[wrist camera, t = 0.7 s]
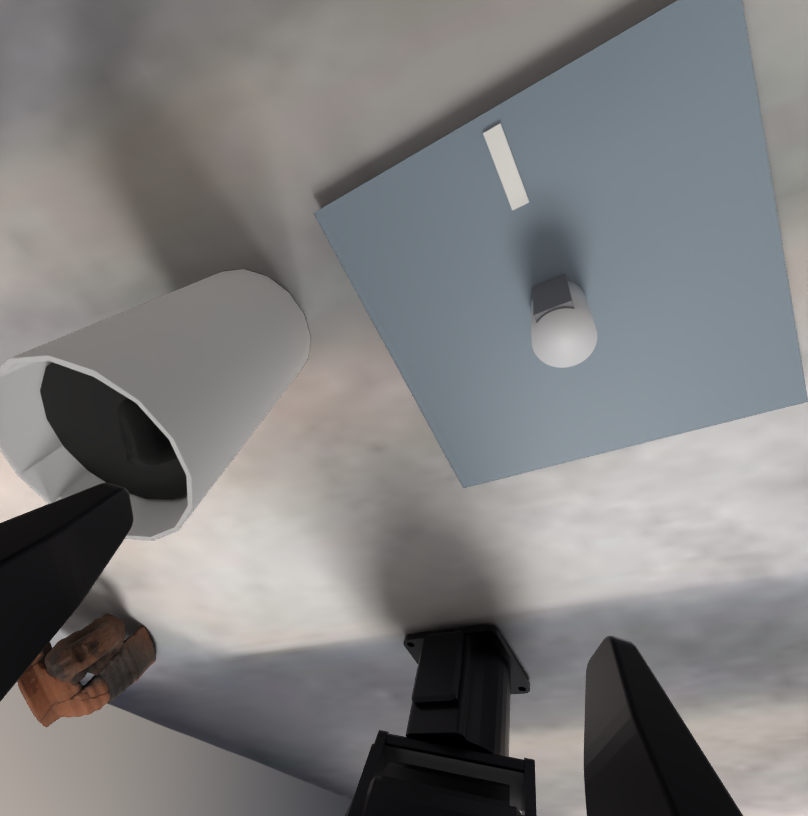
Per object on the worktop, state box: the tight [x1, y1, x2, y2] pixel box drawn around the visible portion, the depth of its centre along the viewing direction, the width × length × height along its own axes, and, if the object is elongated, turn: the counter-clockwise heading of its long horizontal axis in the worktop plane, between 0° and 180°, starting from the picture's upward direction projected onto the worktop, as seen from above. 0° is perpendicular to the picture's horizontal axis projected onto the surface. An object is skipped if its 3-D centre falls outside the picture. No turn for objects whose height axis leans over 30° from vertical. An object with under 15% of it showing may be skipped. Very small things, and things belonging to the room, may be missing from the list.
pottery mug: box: [17, 614, 156, 727], centre depth 38 cm, size 12×10×8 cm
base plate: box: [314, 0, 808, 488], centre depth 17 cm, size 14×14×4 cm
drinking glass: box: [0, 269, 311, 540], centre depth 18 cm, size 7×7×10 cm
